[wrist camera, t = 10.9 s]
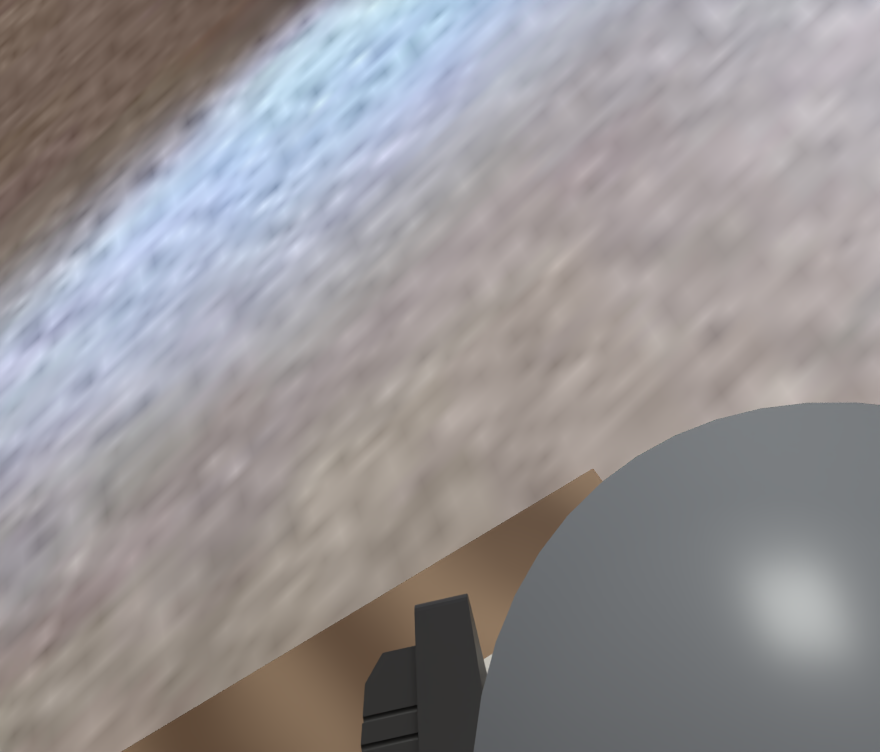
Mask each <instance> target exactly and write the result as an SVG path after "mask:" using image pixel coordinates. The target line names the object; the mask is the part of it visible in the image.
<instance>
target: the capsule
mask: <svg viewBox="0 0 880 752" xmlns="http://www.w3.org/2000/svg"><path fill="white" fill-rule="evenodd" d="M474 752H880V405H874V404H864V403H803V404H795V405H787V406H778V407H770V408H762V409H757V410H753V411H749V412H745V413H741V414H737V415H733V416H729V417H725V418H721V419H717V420H714V421H711V422H709V423H706V424H704V425H701V426H699V427H696V428H693V429H691V430H688V431H686V432H683V433H681V434H678V435H675V436H673V437H672V438H670V439H668V440H666V441H664V442H662V443H661V444H659V445H657V446H655V447H653V448H652V449H650V450H648V451H646V452H644V453H642V454H641V455H639V456H637V457H635V458H634V459H633V460H631V461H630V462H629V463H627V464H626V465H625V466H623V467H622V468H621V469H619V470H618V471H616V472H615V473H614V474H612V475H611V476H610V477H608V478H607V479H606V480H604V481H603V482H602V483H600V484H599V485H598V486H597V487H596V488H595V489H594V490H593V491H592V492H591V493H590V494H589V495H588V496H587V497H586V498H585V499H584V500H583V501H582V502H581V503H580V504H579V505H578V506H577V507H576V508H575V509H574V510H573V511H572V512H571V513H570V514H569V515H568V516H567V517H566V518H565V520H564V521H563V522H562V524H561V525H560V526H559V528H558V529H557V530H556V531H555V533H554V534H553V535H552V537H551V538H550V539H549V541H548V542H547V543H546V544H545V546H544V547H543V548H542V550H541V551H540V552H539V554H538V556H537V557H536V559H535V561H534V563H533V564H532V566H531V568H530V570H529V571H528V573H527V575H526V577H525V578H524V580H523V582H522V584H521V585H520V587H519V589H518V591H517V592H516V594H515V596H514V599H513V601H512V604H511V606H510V609H509V611H508V613H507V616H506V618H505V621H504V623H503V626H502V628H501V631H500V633H499V635H498V638H497V640H496V643H495V647H494V650H493V654H492V658H491V662H490V665H489V669H488V673H487V677H486V680H485V684H484V688H483V692H482V695H481V702H480V709H479V716H478V723H477V731H476V738H475V745H474Z"/></svg>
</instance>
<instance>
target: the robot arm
mask: <svg viewBox="0 0 880 752" xmlns="http://www.w3.org/2000/svg"><path fill="white" fill-rule="evenodd" d="M414 617H415V646H411V647H406V648H402V649H397V650H393V651H389V652H384V653H382V655H381V656H380V658H379V660H378V662H377V663H376V665H375V667H374V669H373V670H372V672H371V674H370V676H369V677H368V679H367V681H366V683H365V689H364V704H363V723H362V733H361V750H362V752H474V745H475V738H476V731H477V723H478V716H479V709H480V702H481V695H482V692H483V688H484V684H485V680H486V677H487V671H486V667H485V663H484V659H483V655H482V650H481V646H480V642H479V638H478V634H477V629H476V625H475V621H474V617H473V613H472V608H471V604H470V600H469V597H468V594H462V595H458V596H453V597H449V598H444V599H440V600H435V601H431V602H426V603H422V604H417V605H415V607H414Z"/></svg>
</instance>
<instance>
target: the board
mask: <svg viewBox="0 0 880 752" xmlns="http://www.w3.org/2000/svg"><path fill="white" fill-rule="evenodd" d="M602 482H603V481H602V480H601V479H600V477H599V476H598V475H597V473H596V472H595V471H594V469H591V470H590V471H588V472H586V473H585V474H583V475H581V476H580V477H578V478H576V479H575V480H573V481H571V482H570V483H568V484H566V485H565V486H563V487H561V488H560V489H558V490H556V491H555V492H553V493H551V494H550V495H548V496H546V497H545V498H543V499H541V500H540V501H538V502H536V503H535V504H533V505H531V506H530V507H528V508H526V509H525V510H523V511H521V512H520V513H518V514H516V515H515V516H513V517H511V518H510V519H508V520H506V521H505V522H503V523H501V524H500V525H498V526H496V527H495V528H493V529H491V530H490V531H488V532H486V533H485V534H483V535H481V536H480V537H478V538H476V539H475V540H473V541H471V542H470V543H468V544H466V545H465V546H463V547H461V548H460V549H458V550H456V551H455V552H453V553H451V554H450V555H448V556H446V557H445V558H443V559H441V560H440V561H438V562H436V563H435V564H433V565H431V566H430V567H428V568H426V569H425V570H423V571H421V572H420V573H418V574H416V575H415V576H413V577H411V578H410V579H408V580H406V581H405V582H403V583H401V584H400V585H398V586H396V587H395V588H393V589H391V590H390V591H388V592H386V593H385V594H383V595H381V596H380V597H378V598H377V599H375V600H373V601H372V602H370V603H368V604H367V605H365V606H363V607H362V608H360V609H358V610H357V611H355V612H353V613H352V614H350V615H348V616H347V617H345V618H343V619H342V620H340V621H338V622H337V623H335V624H333V625H332V626H330V627H328V628H327V629H325V630H323V631H322V632H320V633H318V634H317V635H315V636H313V637H312V638H310V639H308V640H307V641H305V642H303V643H302V644H300V645H298V646H297V647H295V648H293V649H292V650H290V651H288V652H287V653H285V654H283V655H282V656H280V657H278V658H277V659H275V660H273V661H272V662H270V663H268V664H267V665H265V666H263V667H262V668H260V669H258V670H257V671H255V672H253V673H252V674H250V675H248V676H247V677H245V678H243V679H242V680H240V681H238V682H237V683H235V684H233V685H232V686H230V687H228V688H227V689H225V690H223V691H222V692H220V693H218V694H217V695H215V696H213V697H212V698H210V699H208V700H207V701H205V702H203V703H202V704H200V705H198V706H197V707H195V708H193V709H192V710H190V711H188V712H187V713H185V714H183V715H182V716H180V717H178V718H177V719H175V720H173V721H172V722H170V723H168V724H167V725H165V726H163V727H162V728H160V729H158V730H157V731H155V732H153V733H152V734H150V735H148V736H147V737H145V738H143V739H142V740H140V741H138V742H137V743H135V744H133V745H132V746H130V747H128V748H127V749H125V750H123V751H122V752H362V750H361V733H362V723H363V704H364V689H365V683H366V681H367V679H368V677H369V676H370V674H371V672H372V670H373V669H374V667H375V665H376V663H377V662H378V660H379V658H380V656H381V655H382V653H384V652H389V651H393V650H397V649H402V648H406V647H411V646H415V617H414V607H415V605H417V604H422V603H426V602H431V601H435V600H440V599H444V598H449V597H453V596H458V595H462V594H468V597H469V600H470V604H471V608H472V613H473V617H474V621H475V625H476V629H477V634H478V638H479V642H480V646H481V650H482V655H483V659H485V658H486V657H488V656H490V655H491V654H493V650H494V647H495V643H496V640H497V638H498V635H499V633H500V631H501V628H502V626H503V623H504V621H505V618H506V616H507V613H508V611H509V609H510V606H511V604H512V601H513V599H514V596H515V594H516V592H517V591H518V589H519V587H520V585H521V584H522V582H523V580H524V578H525V577H526V575H527V573H528V571H529V570H530V568H531V566H532V564H533V563H534V561H535V559H536V557H537V556H538V554H539V552H540V551H541V550H542V548H543V547H544V546H545V544H546V543H547V542H548V541H549V539H550V538H551V537H552V535H553V534H554V533H555V531H556V530H557V529H558V528H559V526H560V525H561V524H562V522H563V521H564V520H565V518H566V517H567V516H568V515H569V514H570V513H571V512H572V511H573V510H574V509H575V508H576V507H577V506H578V505H579V504H580V503H581V502H582V501H583V500H584V499H585V498H586V497H587V496H588V495H589V494H590V493H591V492H592V491H593V490H594V489H595V488H596V487H597V486H598V485H599V484H600V483H602Z"/></svg>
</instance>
